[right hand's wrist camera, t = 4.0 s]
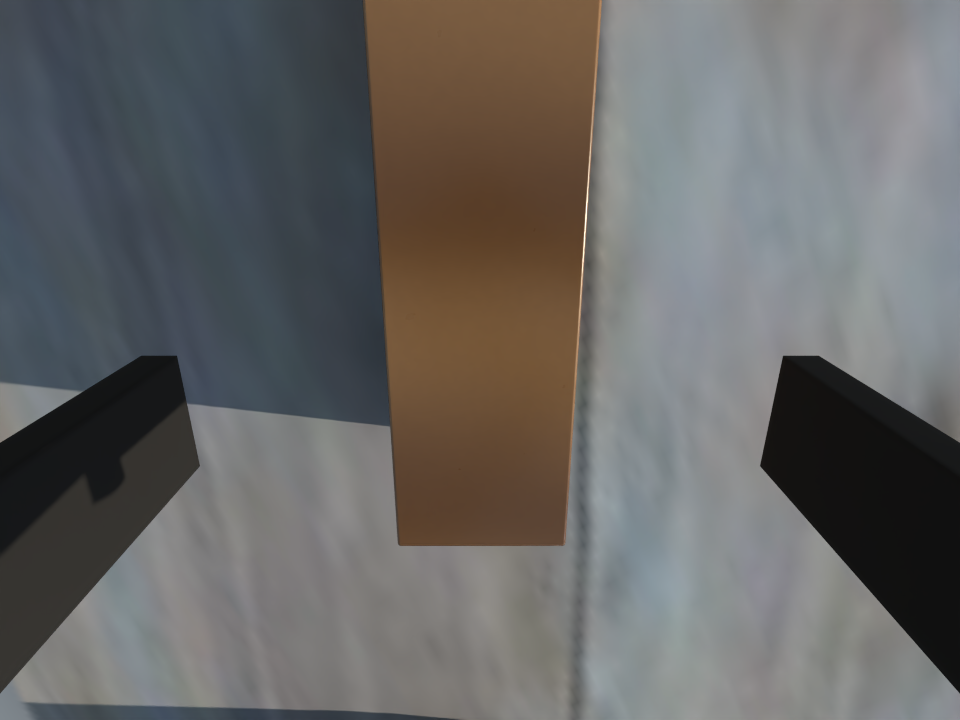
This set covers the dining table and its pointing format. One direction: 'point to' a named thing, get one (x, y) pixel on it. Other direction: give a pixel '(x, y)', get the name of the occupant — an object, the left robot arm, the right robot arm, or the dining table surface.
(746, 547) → the dining table surface
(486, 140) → the post
